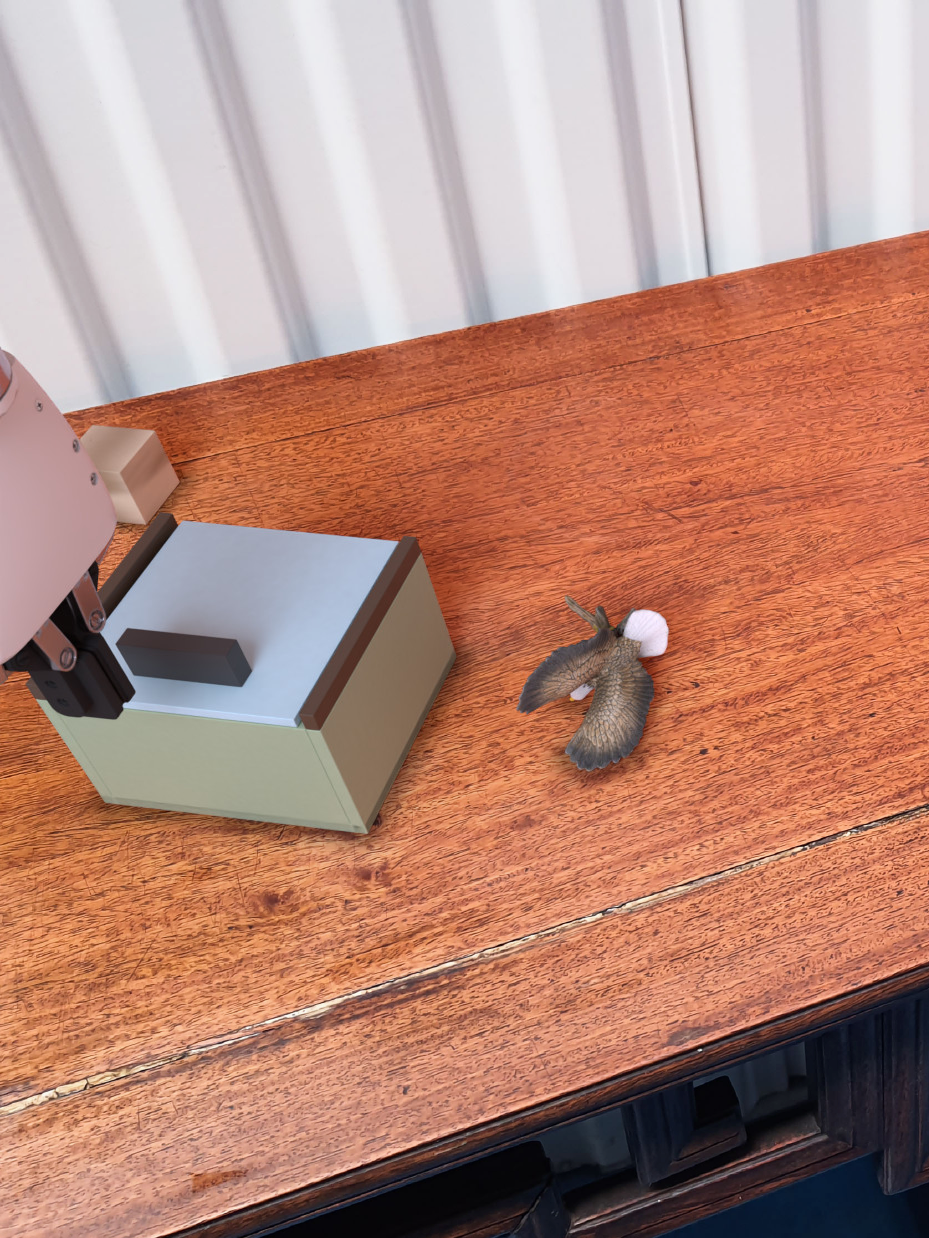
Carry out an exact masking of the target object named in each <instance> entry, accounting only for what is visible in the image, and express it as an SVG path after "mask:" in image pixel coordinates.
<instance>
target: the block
mask: <svg viewBox="0 0 929 1238" xmlns="http://www.w3.org/2000/svg"><path fill="white" fill-rule="evenodd" d="M79 440H80V442H81V443H82V445H83V446H84V448H85V449H86V451H87V453H88V454H89V456H90V458H91V460H92V461H93V463H94V465H95V466H96V468H97V470H98V472H99V473H100V475H101V477H102V479H103V481H104V483H105V485H106V487H107V489H108V492H109V494H110V496H111V498H112V501H113V504H114V507H115V510H116V514H117V523H124V524H132V525H133V524H134V525H144V526H146V525H148V524H149V522H150V521H151V520H152V518H153V517H154V516H155V515H156V514H157V512H158V511H159V510H160V508H161V507H162V506H163V505H164V503H165V502H166V501H167V500H168V498H169V497H170V495H171V494H172V493H173V492H174V491H175V489H176V488H177V487H178V485H179V484H180V482H181V481H180V480H179V478H178V475H177V473H176V472H175V469H174V467H173V465H172V463H171V462H170V459H169V457H168V455H167V452H166V450H165V448H164V447H163V444H162V442H161V440H160V438H159V436H158V434H157V432H156V431H155V430H153V429H141V428H132V427H131V428H129V427H120V426H110V425H109V426H108V425H97V424H92V425H90V427H89V428H88V429H87V431H85V433H83V435H82V436H81V437H80V438H79Z"/></svg>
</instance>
